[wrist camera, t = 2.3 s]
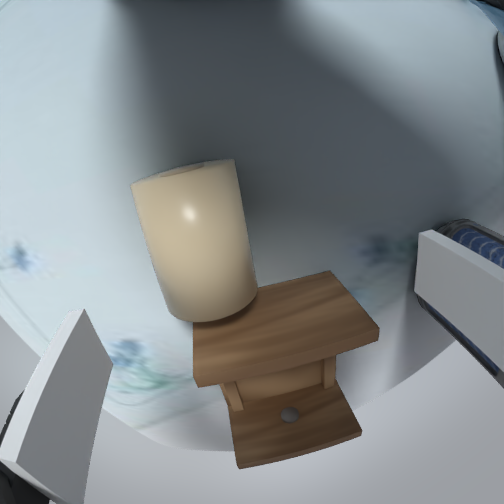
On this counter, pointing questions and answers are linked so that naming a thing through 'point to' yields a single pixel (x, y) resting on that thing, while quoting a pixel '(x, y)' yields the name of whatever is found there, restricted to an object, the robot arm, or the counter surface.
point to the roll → (197, 239)
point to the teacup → (501, 45)
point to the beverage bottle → (487, 246)
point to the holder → (284, 367)
